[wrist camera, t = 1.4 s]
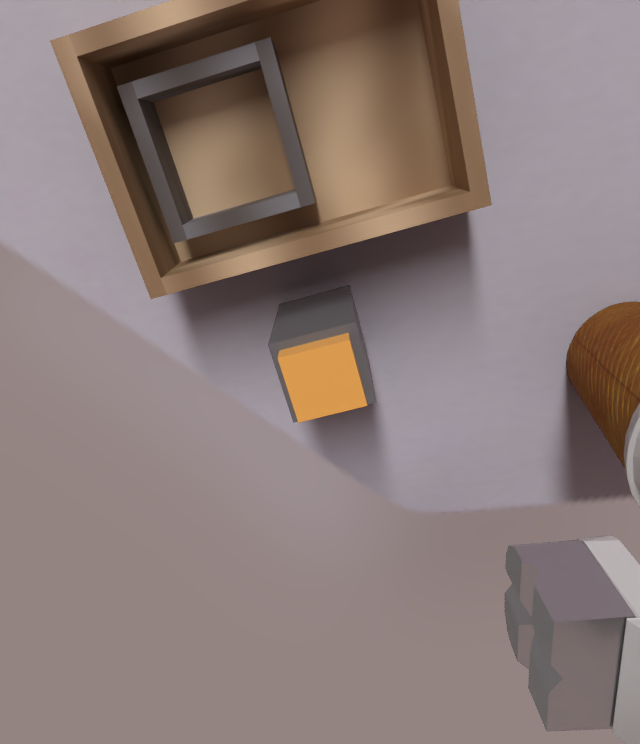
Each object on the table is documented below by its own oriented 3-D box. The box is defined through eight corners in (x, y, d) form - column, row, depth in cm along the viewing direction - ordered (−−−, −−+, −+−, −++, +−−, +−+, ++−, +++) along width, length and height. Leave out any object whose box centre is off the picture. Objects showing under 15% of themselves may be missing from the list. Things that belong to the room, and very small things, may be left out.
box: (422, -49, 26) (443, -91, 22) (466, 195, 30) (491, 205, 26) (95, 57, 28) (50, 40, 23) (176, 276, 32) (150, 299, 27)
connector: (349, 285, 32) (356, 328, 25) (366, 351, 33) (378, 411, 26) (279, 303, 32) (265, 352, 25) (299, 368, 34) (292, 432, 26)
